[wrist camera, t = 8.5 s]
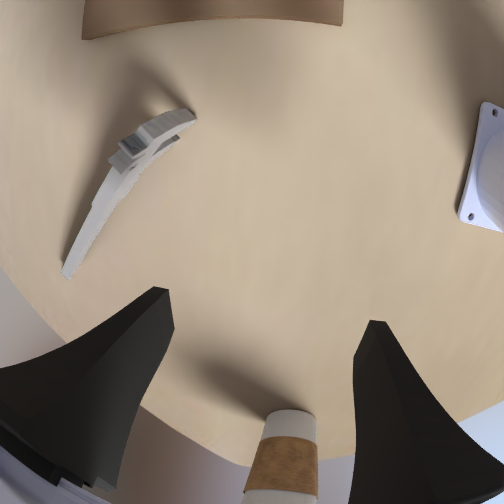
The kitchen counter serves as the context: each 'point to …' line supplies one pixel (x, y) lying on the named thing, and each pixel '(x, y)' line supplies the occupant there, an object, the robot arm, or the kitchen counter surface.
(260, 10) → the post base
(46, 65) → the kitchen counter surface
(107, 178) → the caliper
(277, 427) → the coffee cup
